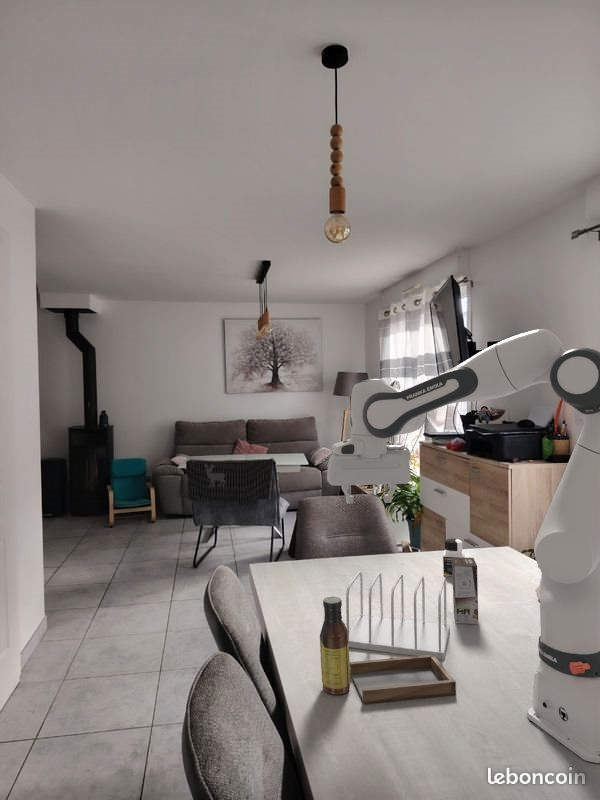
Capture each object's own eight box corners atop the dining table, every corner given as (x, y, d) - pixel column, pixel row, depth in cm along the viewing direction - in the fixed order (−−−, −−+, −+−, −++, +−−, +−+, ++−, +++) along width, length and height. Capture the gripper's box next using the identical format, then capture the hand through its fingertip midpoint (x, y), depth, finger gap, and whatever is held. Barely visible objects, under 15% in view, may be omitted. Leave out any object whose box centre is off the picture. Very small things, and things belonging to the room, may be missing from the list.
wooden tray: (456, 695, 119) (455, 681, 119) (363, 704, 117) (363, 690, 117) (433, 666, 132) (433, 654, 132) (350, 674, 130) (349, 662, 130)
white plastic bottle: (443, 575, 199) (442, 541, 199) (444, 569, 206) (443, 536, 206) (464, 577, 197) (463, 542, 197) (464, 571, 203) (463, 537, 203)
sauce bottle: (333, 679, 128) (330, 591, 128) (356, 687, 124) (353, 597, 124) (315, 691, 123) (312, 600, 123) (338, 700, 119) (336, 606, 119)
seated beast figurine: (555, 609, 165) (554, 568, 165) (528, 601, 172) (527, 561, 172) (572, 601, 171) (570, 562, 171) (545, 594, 178) (544, 556, 178)
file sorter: (343, 647, 144) (341, 586, 144) (359, 621, 160) (357, 566, 160) (444, 660, 136) (442, 595, 136) (449, 631, 152) (448, 573, 152)
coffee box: (479, 624, 156) (477, 566, 156) (455, 623, 157) (453, 565, 157) (475, 612, 165) (474, 557, 165) (453, 611, 166) (451, 556, 166)
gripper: (406, 444, 141) (406, 499, 142) (325, 445, 139) (325, 501, 139) (414, 446, 135) (414, 504, 135) (330, 447, 132) (330, 506, 133)
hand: (368, 502), depth 137 cm, fingers open, 8 cm apart
